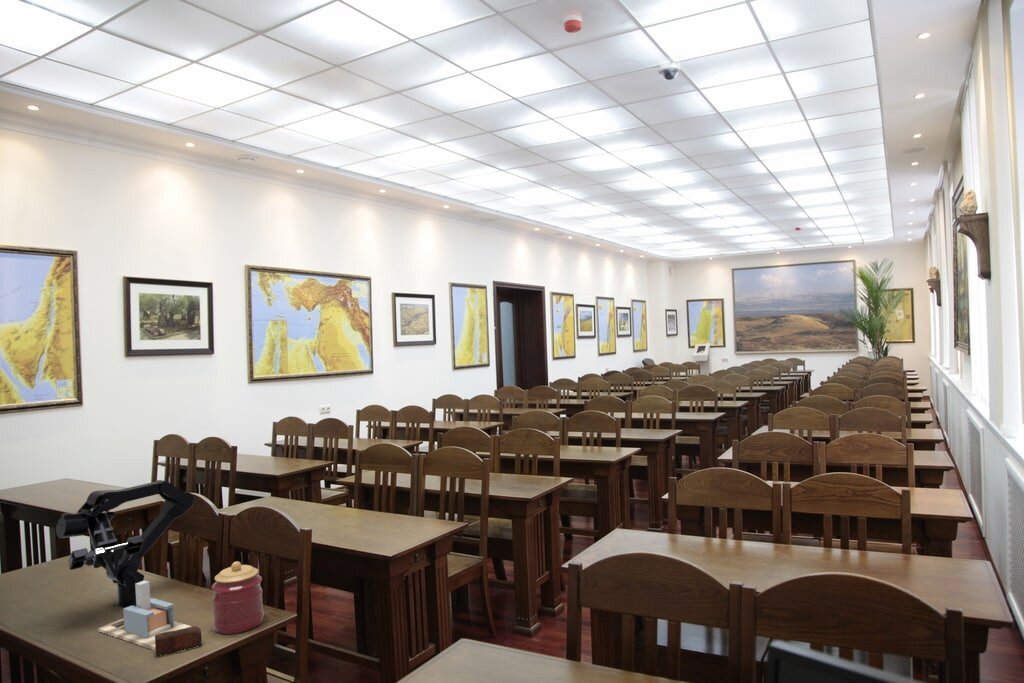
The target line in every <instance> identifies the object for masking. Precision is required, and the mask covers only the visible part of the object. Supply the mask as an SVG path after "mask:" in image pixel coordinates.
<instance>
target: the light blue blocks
mask: <svg viewBox="0 0 1024 683" xmlns="http://www.w3.org/2000/svg"><path fill="white" fill-rule="evenodd" d="M150 603H151V609H154V608H160V609H164V610H166V623H167V624H171V627H175V622H176V617H175V616H176V615H175V603H171V602H168V601H164V600H161V599H157V598H153V597H150ZM152 615H154V612H152V611H149V610H145V609H142V608H138V607H136V606H135V605H131V606H128V607H126V608H123V618H124V630H125V632H128V633H131V634H134V635H137V636H140V637H143V638H146V639H147V638H149V634H148V617H150V616H152Z"/></svg>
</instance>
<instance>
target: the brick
mask: <svg viewBox="0 0 1024 683" xmlns="http://www.w3.org/2000/svg"><path fill="white" fill-rule="evenodd" d="M191 626H192V625H191ZM202 638H203V637H202V629H201V628H200V627H199V626H196V625H194V626H192V627H188V628H184V629H179V630H175V631H169V632H164V633H160V634H157V635H155V649H156V651H155V656H156V657H157V656H158V657H161V656H160V655H163V656H166V655H165V654H167V655H171V654H170V653H172V654H174V652H176V653H178V652H177V651H180V652H182V651H181V650H184V649H188V650H190V649H189V648H192V649H194V648H193V647H196V648H198V647H197V646H199V647H200V646H201V644H202V641H203V640H202ZM184 651H185V650H184Z"/></svg>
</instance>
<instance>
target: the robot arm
mask: <svg viewBox="0 0 1024 683" xmlns="http://www.w3.org/2000/svg"><path fill="white" fill-rule="evenodd" d="M155 495H157V496H158V495H159V497H161V498H162V499H163V500H164V502H163V504H162V507H161V511H160V513H159V514H158V515H157V516H156V517H155V518H154V520H153V521H152V522H151V523H150V524H149V525H148V527H147V528H146V529H145V530H144V531H143V533H141V534H140V535H136V536H135V535H134V536H131V537H127V539H126V542H125V543H121V544H118V538H116V537H115V534H114V526H112V525H111V521H112V519H113V518H114V517H115V515H116V513H115V512H114V511H111V510H113V509H116V508H118V507H119V506H121V505H123V504H124V503H128V502H132V501H135V500H140V499H144V498H148V497H151V496H155ZM194 502H195V501H194V495H193V494H192V493H191V492H186V491H184V490H182V489H180V488H178V487H176V486H174V485H173V484H172V483H170V482H169V481H168V480H162V479H158V480H156V481H152V482H148V483H143V484H139V485H135V486H134V485H133V486H130V487H126V488H122V489H107V490H106V489H103V490H101V489H100V490H94V491H92V492H90V493H89V495H88V496H87V498H86V501H85V502H84V503H83V505H81V507H80V508H79V509H78V510H77V511H76V512H75V513H74V512H72V513H61V517H60V518H59V519H58V521H57V524H56V526H55V533H56V536H57V537H58V539H65V538H75V537H81V536H84V534H86V533H87V532H88V533H89V534H88V535H89V538H90V544H91V545H90V546H91V549H90V550H88V548H86V547H85V548H81V549H77V550H73V551H71V552H70V555H69V558H68V562H67V563H68V569H69V570H71V571H72V570H76V569H80V568H83V566H88V567H89V566H93V568H94V569H99V568H103V569H104V570H105V572H106V573H105V574H106V576H107V578H108V579H109V580H111V581H112V583H114V584H115V585H117V601H114V602H113V603H112V605H113V606H117V607H120V608H123V609H124V608H127V607H129V606H134V605H136V588H135V584H136V583H138V582H141V581H144V579H145V575H144V574H142V573H141V572H139V569H140V567H141V563H142V560H143V557H145V555H146V553H148V551H149V550H150V549H151V547H153V545H154V544H155V543H156V542H157V541H158V539H159V538H160V537H161V536H162V535H163V533H164V532H165V531H166V530H167V529H168V528H169V526H170V525H171V524H172V523H173V521H174V520H176V519H177V518H179V517H181V516H182V515H185V513H187V511H189V510H190V509H191V508H192V507H193V505H194ZM133 604H134V605H133Z"/></svg>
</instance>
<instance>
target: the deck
mask: <svg viewBox="0 0 1024 683" xmlns="http://www.w3.org/2000/svg"><path fill="white" fill-rule="evenodd" d="M188 627H192V625H189V624H184V623H181V622H177V621H175V627H170V628H168V629H165V630H163V631H161V632H158V633H156V634H154V635H151V636H149V638H147V639H146V638H143V637H140V636H137V635H134V634H131V633H128V632H125V630H124V617H123V618H121V619H118V620H116V621H113V622H111V623H107V624H106V625H103V626H99V628H97V631H99V632H98V633H100V632H102V633H101V634H103V633H105V634H104V635H106V634H108V635H107V636H109V635H111V636H110V637H112V636H114V637H113V638H115V637H118V638H120V639H119V640H121V639H123V640H122V641H124V640H126V641H125V642H127V641H129V642H128V643H130V642H132V643H131V644H133V643H135V644H134V645H136V644H138V645H137V646H139V645H141V646H140V647H142V646H143V647H142V648H145V647H146V649H148V648H149V649H148V650H151V649H152V651H154V650H156V649H155V635H157V634H160V633H164V632H169V631H175V630H179V629H184V628H188ZM118 638H117V639H118Z"/></svg>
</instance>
